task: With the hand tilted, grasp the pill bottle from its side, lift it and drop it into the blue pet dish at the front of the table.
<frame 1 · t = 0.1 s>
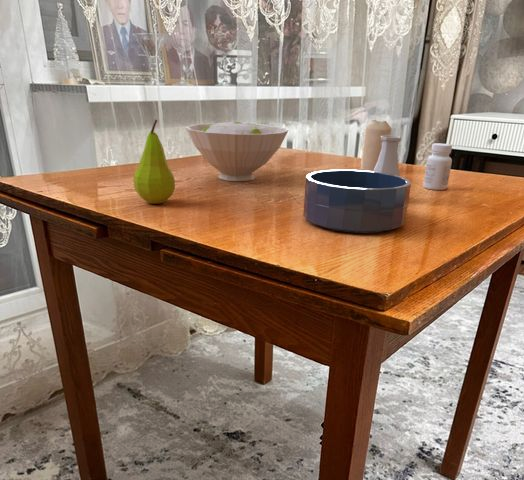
blue pet dish: (353, 222, 77), on the table
fruit: (155, 204, 84), on the table
bowl: (236, 178, 105), on the table
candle: (373, 171, 118), on the table
flask: (382, 201, 91), on the table
pill bottle: (434, 189, 102), on the table
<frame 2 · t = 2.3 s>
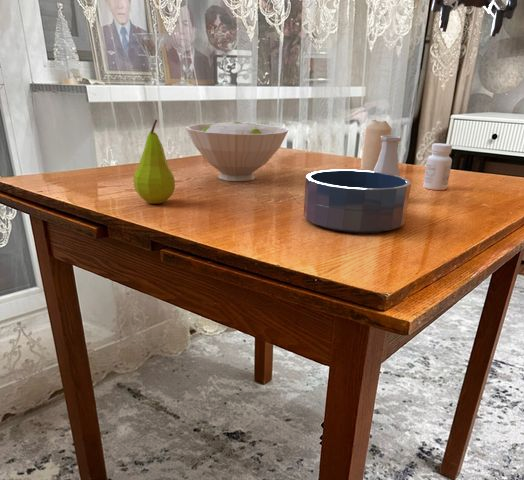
hand: (469, 30, 96), 26 cm above the table, tool tilted 40°, fingers open, 8 cm apart
nothing on the table moved.
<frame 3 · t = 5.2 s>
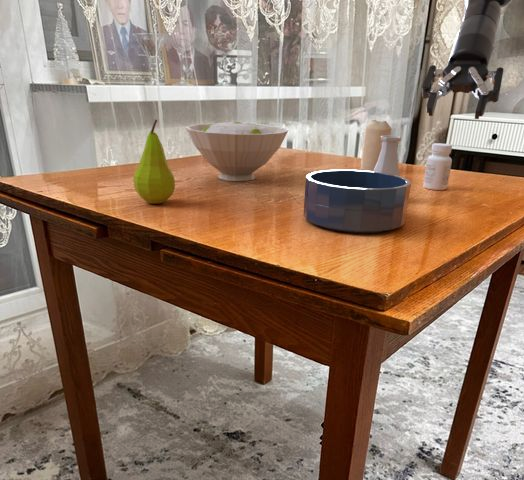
hand: (453, 114, 103), 12 cm above the table, tool tilted 45°, fingers open, 8 cm apart
nothing on the table moved.
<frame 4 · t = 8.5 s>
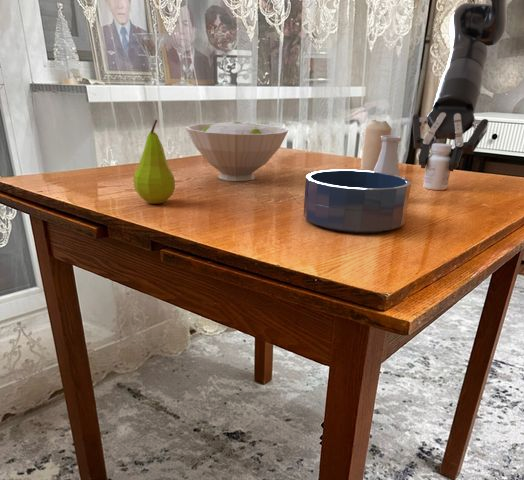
hand: (437, 166, 98), 4 cm above the table, tool tilted 45°, fingers closed on pill bottle, 4 cm apart
pill bottle: (434, 189, 102), on the table, touching gripper
everything else where it was.
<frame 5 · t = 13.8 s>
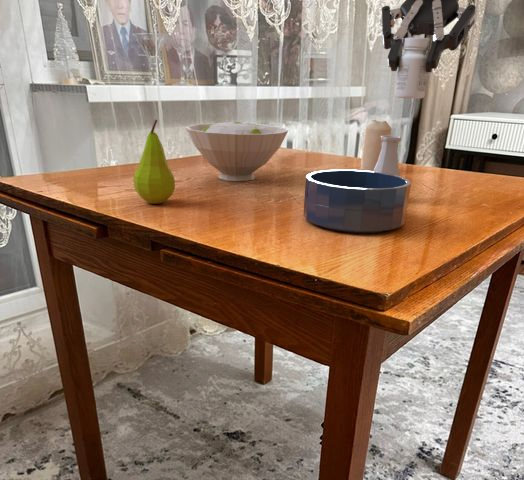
hand: (410, 66, 77), 20 cm above the table, tool tilted 45°, fingers closed on pill bottle, 4 cm apart
pill bottle: (409, 99, 81), point 16 cm above the table, touching gripper
everything else where it was.
when the fingers open (5 cm above the table, at t = 19.5 s): pill bottle stays where it is, resting on blue pet dish.
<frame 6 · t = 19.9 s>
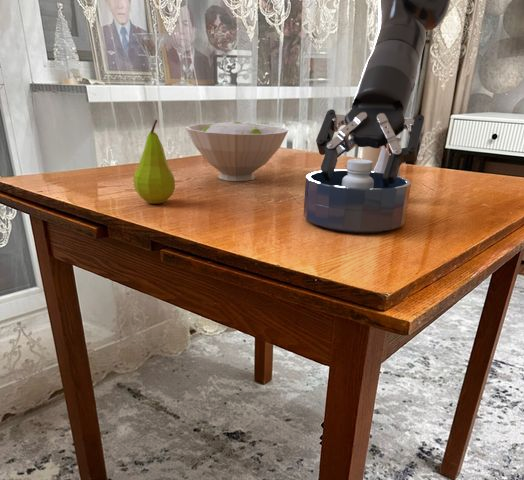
hand: (355, 180, 73), 6 cm above the table, tool tilted 45°, fingers open, 8 cm apart
pill bottle: (353, 218, 77), resting on blue pet dish
everything else where it was.
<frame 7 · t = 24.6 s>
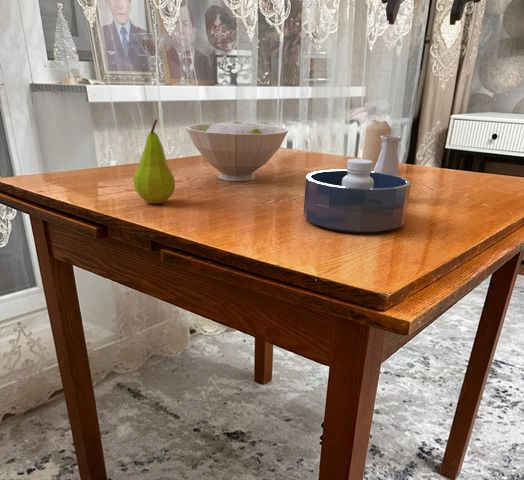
hand: (421, 19, 76), 26 cm above the table, tool tilted 45°, fingers open, 8 cm apart
nothing on the table moved.
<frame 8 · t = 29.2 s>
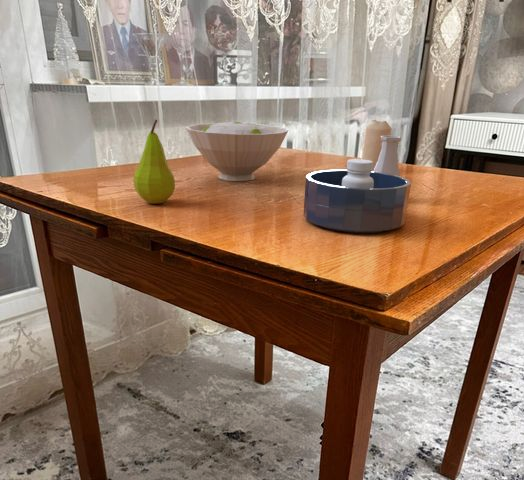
nothing on the table moved.
at the end: pill bottle inside the target area in the blue pet dish (0.2 cm from its centre), point 0.4 cm above the blue pet dish's base; the gripper is holding nothing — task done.
